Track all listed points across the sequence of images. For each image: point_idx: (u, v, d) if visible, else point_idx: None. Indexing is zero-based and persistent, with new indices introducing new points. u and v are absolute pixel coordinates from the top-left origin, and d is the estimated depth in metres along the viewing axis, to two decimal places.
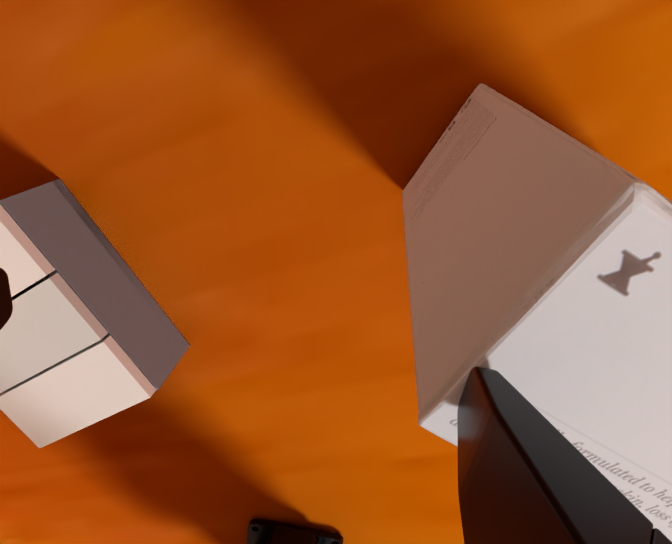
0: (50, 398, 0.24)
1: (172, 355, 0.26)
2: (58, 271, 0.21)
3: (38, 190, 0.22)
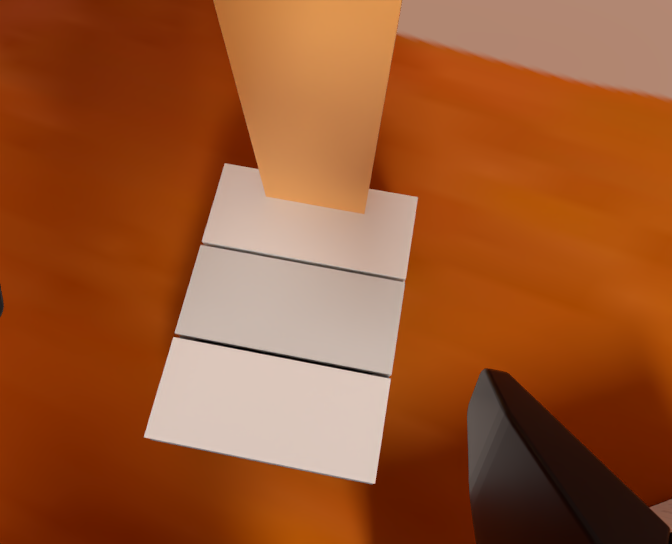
0: (248, 389, 0.17)
1: None
2: None
3: None
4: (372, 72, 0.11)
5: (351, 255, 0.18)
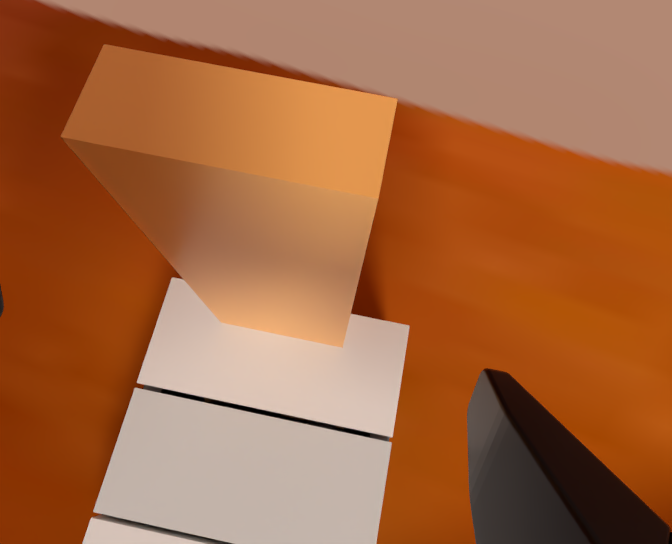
0: None
1: None
2: (387, 441, 0.15)
3: None
4: (339, 255, 0.08)
5: (324, 404, 0.15)
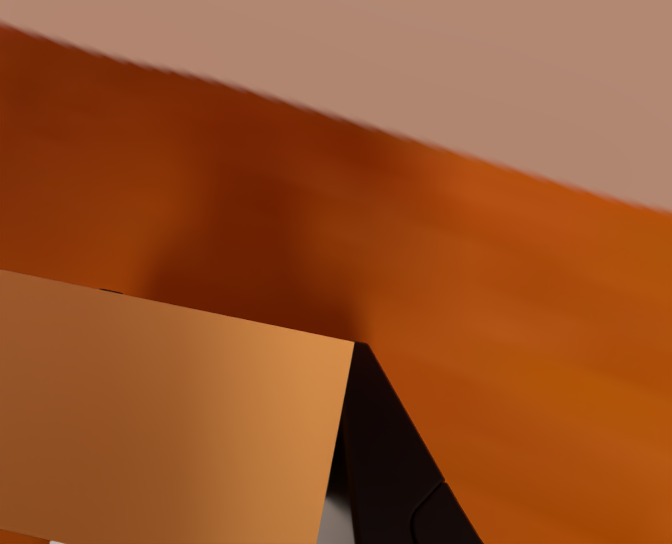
0: None
1: None
2: None
3: None
4: None
5: None
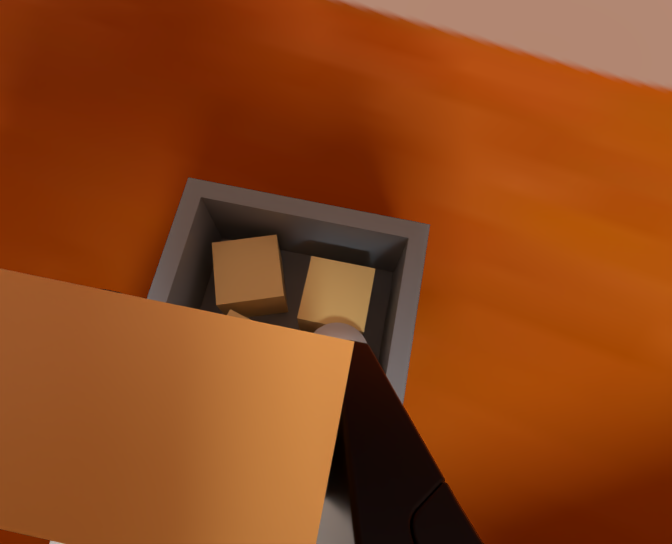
0: None
1: None
2: (412, 337, 0.14)
3: None
4: None
5: None
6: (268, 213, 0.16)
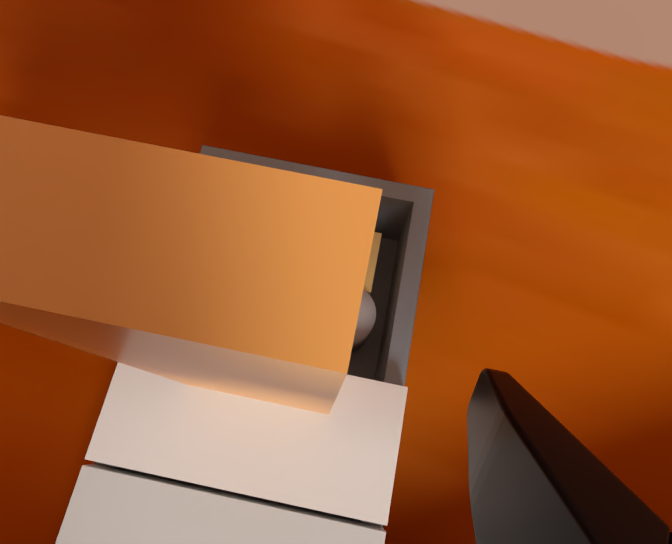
0: None
1: None
2: (417, 294, 0.15)
3: None
4: (304, 387, 0.05)
5: (306, 484, 0.12)
6: None
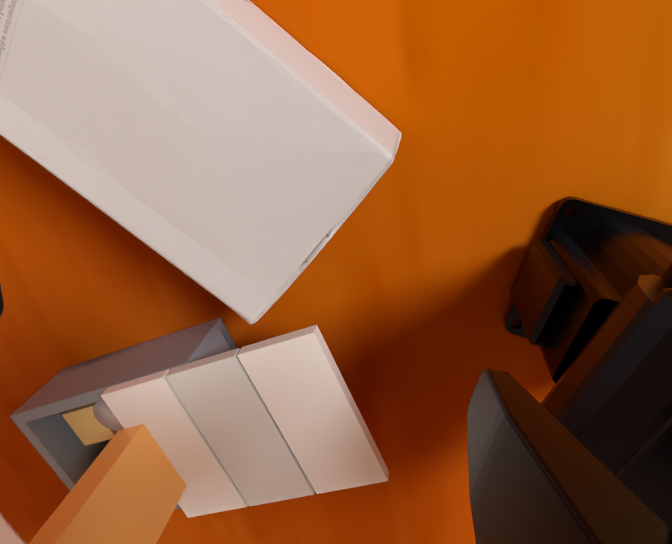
0: (314, 438, 0.21)
1: (199, 337, 0.23)
2: (63, 400, 0.23)
3: (43, 387, 0.26)
4: None
5: (178, 418, 0.21)
6: None
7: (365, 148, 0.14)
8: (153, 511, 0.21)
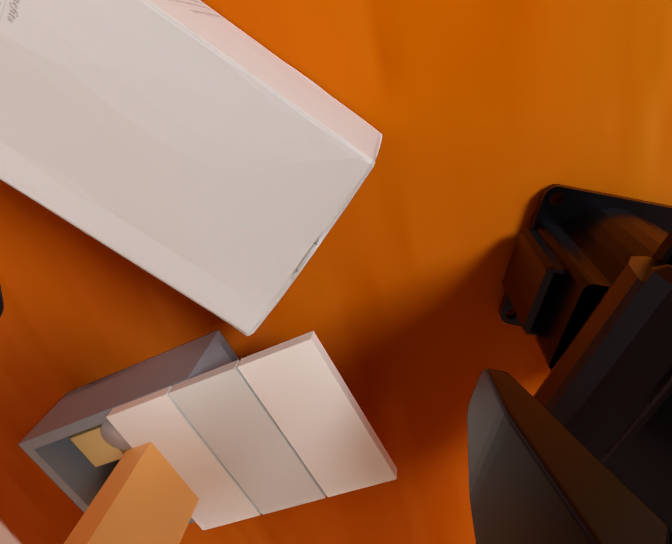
0: (320, 443, 0.21)
1: (199, 351, 0.23)
2: (70, 424, 0.23)
3: (49, 412, 0.26)
4: None
5: (184, 434, 0.21)
6: None
7: (344, 154, 0.14)
8: (167, 527, 0.21)
